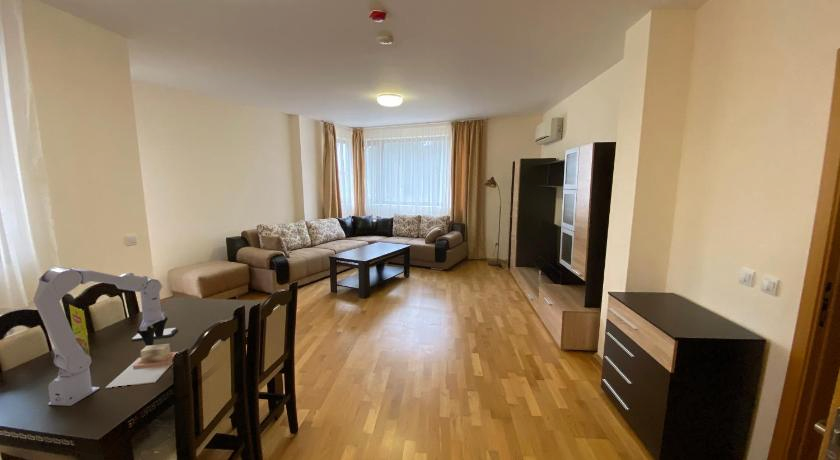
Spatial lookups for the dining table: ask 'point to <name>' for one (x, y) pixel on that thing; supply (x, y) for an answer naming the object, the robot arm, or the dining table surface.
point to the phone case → (166, 333)
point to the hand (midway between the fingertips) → (154, 340)
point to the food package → (79, 328)
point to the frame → (140, 365)
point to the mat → (138, 375)
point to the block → (155, 353)
